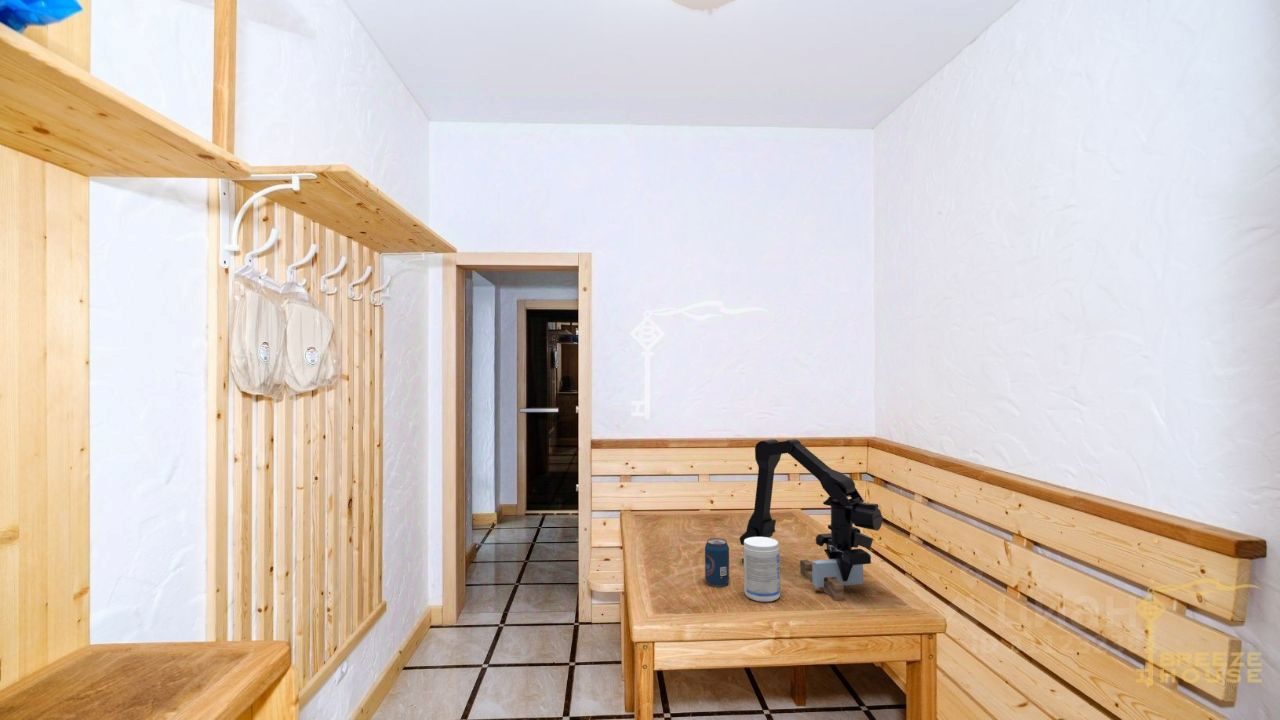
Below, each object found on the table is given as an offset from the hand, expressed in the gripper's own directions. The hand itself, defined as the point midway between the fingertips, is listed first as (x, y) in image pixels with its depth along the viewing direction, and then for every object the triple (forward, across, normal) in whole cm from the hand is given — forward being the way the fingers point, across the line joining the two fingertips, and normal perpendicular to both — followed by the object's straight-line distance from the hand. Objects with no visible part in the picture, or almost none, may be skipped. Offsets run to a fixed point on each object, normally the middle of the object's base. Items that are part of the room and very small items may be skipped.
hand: (842, 579), depth 151 cm
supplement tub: (+3, +1, +24) cm, 24 cm away
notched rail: (+3, +4, +4) cm, 7 cm away
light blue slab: (+1, 0, +1) cm, 2 cm away
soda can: (+3, +12, +32) cm, 35 cm away
